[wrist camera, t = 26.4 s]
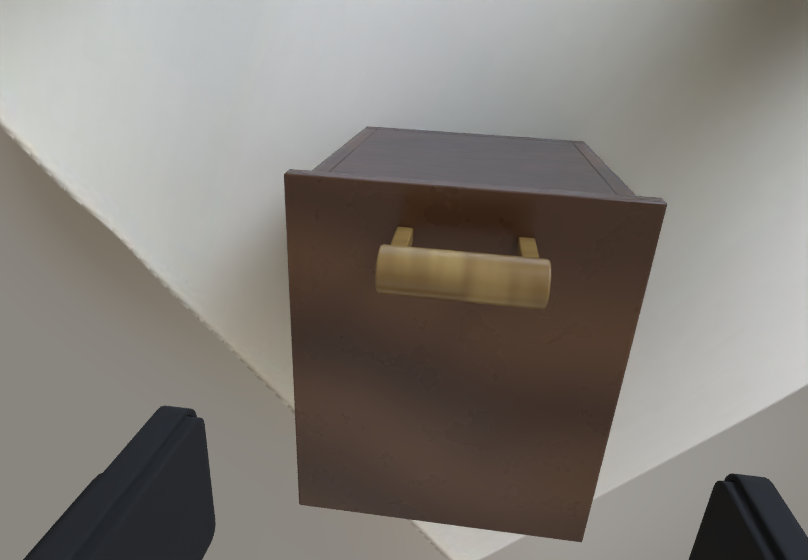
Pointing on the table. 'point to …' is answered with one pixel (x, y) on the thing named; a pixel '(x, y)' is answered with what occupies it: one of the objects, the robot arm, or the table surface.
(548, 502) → the chest lid
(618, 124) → the table surface
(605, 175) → the chest
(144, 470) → the robot arm
